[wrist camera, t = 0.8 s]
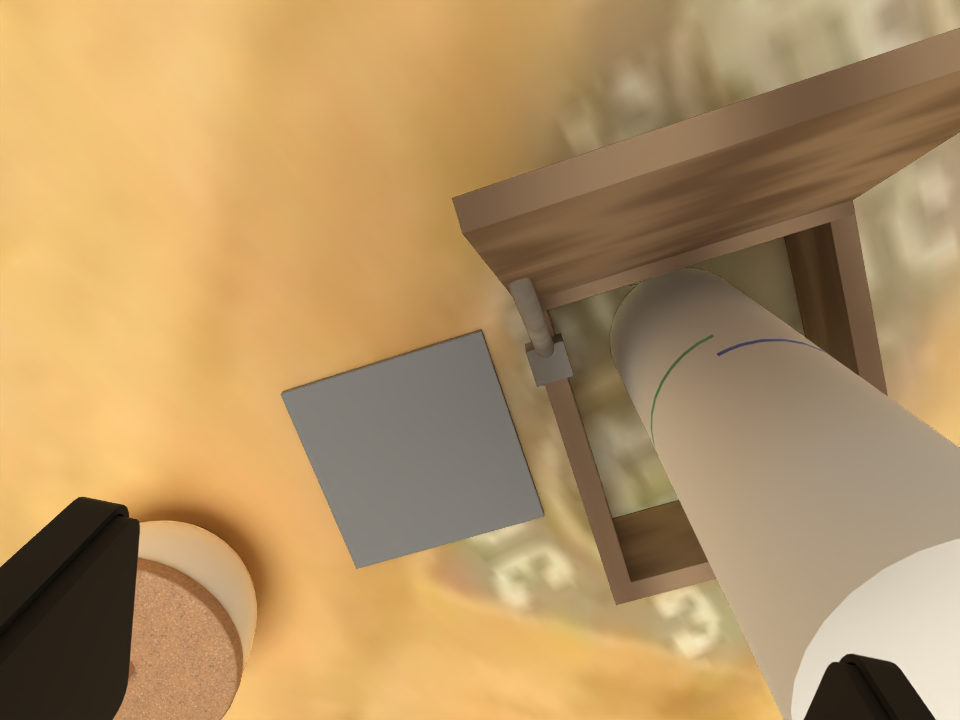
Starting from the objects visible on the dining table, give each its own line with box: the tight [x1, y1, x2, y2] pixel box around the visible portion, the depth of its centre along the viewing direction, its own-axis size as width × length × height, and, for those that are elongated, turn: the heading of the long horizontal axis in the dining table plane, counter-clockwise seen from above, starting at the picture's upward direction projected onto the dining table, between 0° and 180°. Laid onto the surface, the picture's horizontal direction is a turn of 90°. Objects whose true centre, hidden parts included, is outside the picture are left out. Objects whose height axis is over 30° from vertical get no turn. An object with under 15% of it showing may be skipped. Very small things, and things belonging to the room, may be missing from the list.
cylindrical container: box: [610, 268, 960, 720], centre depth 27 cm, size 7×7×25 cm
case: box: [452, 28, 960, 605], centre depth 28 cm, size 14×22×21 cm, turn 18°
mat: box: [281, 330, 544, 569], centre depth 41 cm, size 11×11×1 cm
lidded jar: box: [113, 520, 257, 720], centre depth 39 cm, size 11×11×9 cm
